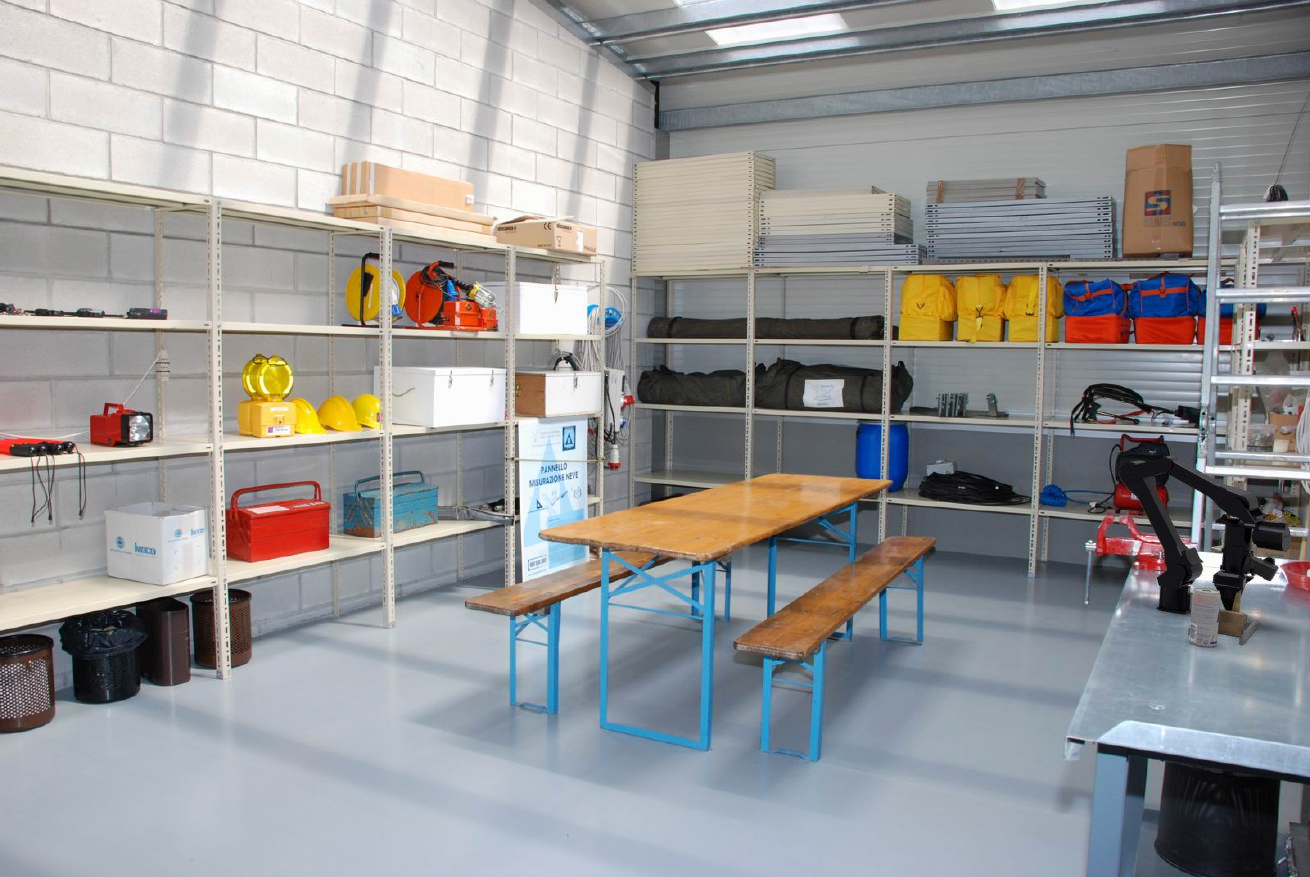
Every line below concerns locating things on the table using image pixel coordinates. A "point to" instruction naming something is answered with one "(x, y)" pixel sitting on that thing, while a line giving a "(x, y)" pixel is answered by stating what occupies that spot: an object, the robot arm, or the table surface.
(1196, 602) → the energy drink
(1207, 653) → the table surface
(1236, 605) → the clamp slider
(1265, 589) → the table surface
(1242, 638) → the clamp rails
